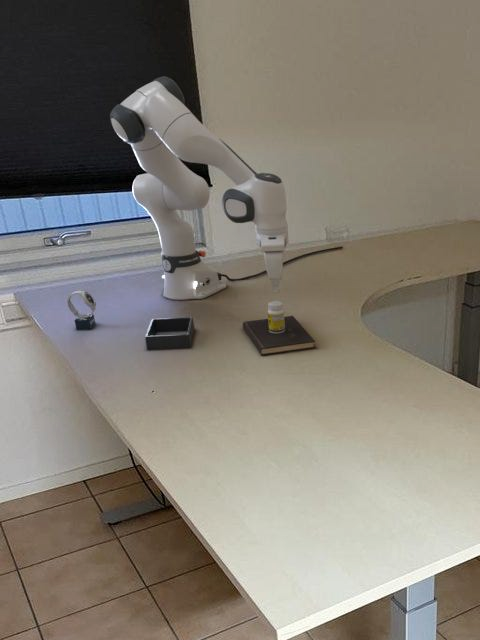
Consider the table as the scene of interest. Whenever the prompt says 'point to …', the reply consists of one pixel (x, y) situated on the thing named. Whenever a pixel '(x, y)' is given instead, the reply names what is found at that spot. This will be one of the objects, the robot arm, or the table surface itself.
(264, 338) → the hardcover book
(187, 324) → the tray
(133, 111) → the robot arm
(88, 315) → the watch
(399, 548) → the table surface
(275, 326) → the supplement bottle
